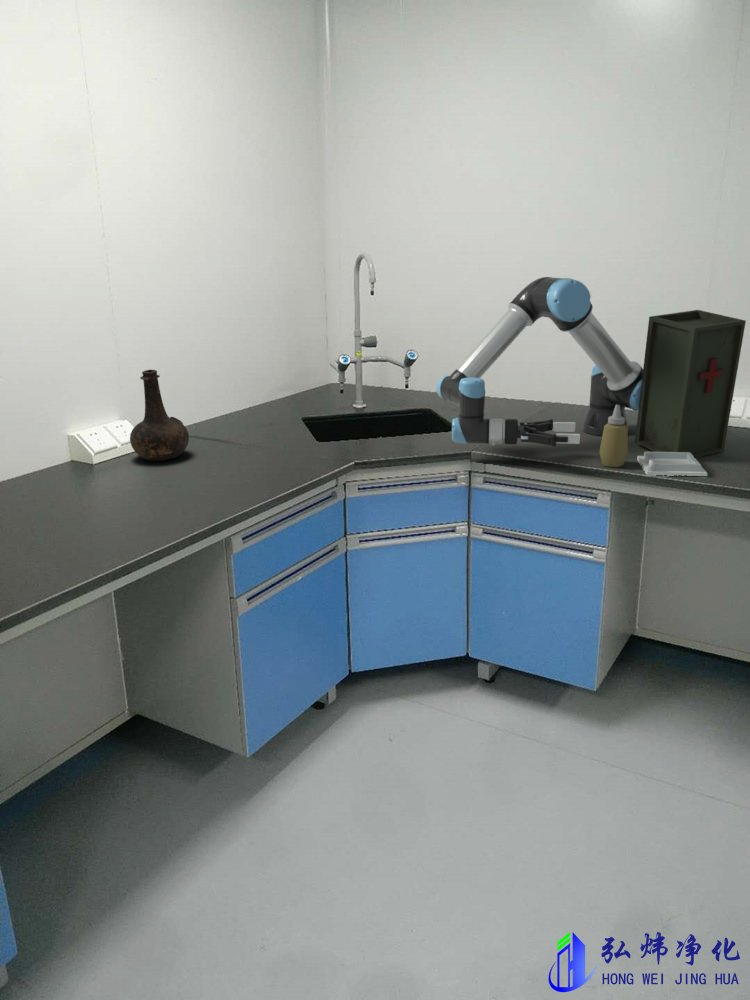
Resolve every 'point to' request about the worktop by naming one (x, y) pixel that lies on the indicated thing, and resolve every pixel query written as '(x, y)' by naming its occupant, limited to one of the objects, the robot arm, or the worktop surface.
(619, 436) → the squeeze bottle
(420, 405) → the worktop surface
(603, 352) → the robot arm
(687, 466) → the holder plate
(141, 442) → the glass bottle
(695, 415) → the first aid box
